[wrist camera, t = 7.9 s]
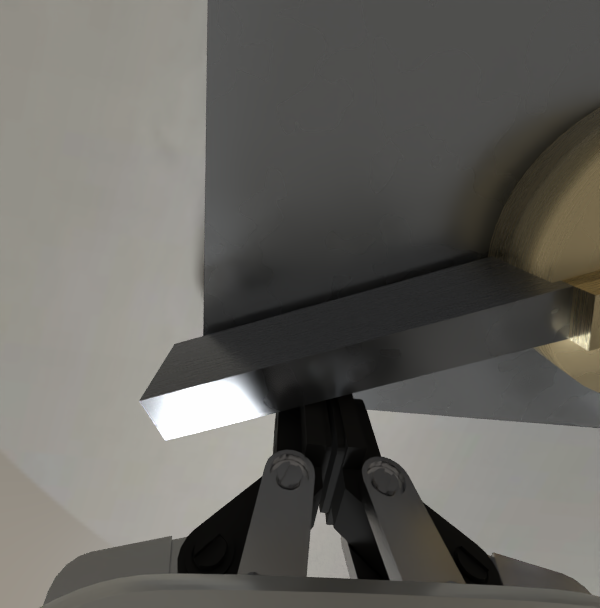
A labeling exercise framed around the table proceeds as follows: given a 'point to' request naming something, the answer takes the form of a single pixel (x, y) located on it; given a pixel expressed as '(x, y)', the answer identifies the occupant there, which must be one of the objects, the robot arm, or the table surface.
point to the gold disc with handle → (418, 313)
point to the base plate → (387, 164)
